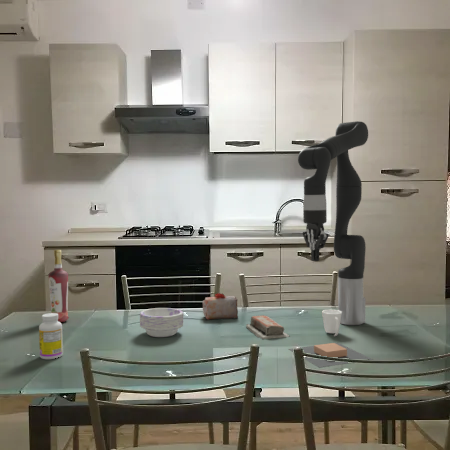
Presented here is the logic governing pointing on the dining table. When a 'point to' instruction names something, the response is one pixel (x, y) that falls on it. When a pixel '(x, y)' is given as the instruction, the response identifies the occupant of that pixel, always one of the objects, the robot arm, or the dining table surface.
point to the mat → (324, 363)
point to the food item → (220, 307)
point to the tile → (330, 350)
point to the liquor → (59, 289)
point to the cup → (331, 320)
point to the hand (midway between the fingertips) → (315, 260)
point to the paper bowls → (161, 321)
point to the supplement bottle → (50, 337)
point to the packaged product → (266, 328)
